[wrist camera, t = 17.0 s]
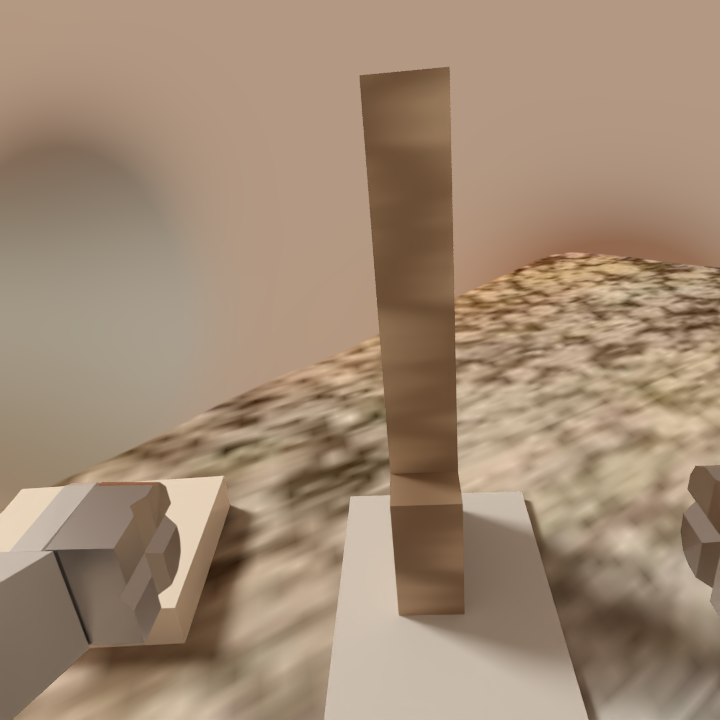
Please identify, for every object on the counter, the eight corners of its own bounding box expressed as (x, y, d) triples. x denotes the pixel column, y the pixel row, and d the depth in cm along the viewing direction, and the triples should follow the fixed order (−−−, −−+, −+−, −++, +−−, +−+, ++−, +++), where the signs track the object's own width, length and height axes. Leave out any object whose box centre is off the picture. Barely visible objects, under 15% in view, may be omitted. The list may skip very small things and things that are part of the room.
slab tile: (223, 476, 29) (22, 489, 29) (174, 607, 22) (-93, 622, 22) (231, 512, 30) (35, 524, 30) (187, 649, 22) (-71, 663, 23)
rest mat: (521, 498, 28) (521, 491, 28) (597, 762, 17) (598, 753, 17) (351, 503, 29) (350, 496, 29) (321, 760, 18) (320, 751, 18)
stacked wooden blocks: (451, 507, 27) (439, 69, 20) (464, 614, 22) (455, 65, 14) (398, 509, 27) (366, 76, 20) (398, 615, 22) (355, 74, 14)
